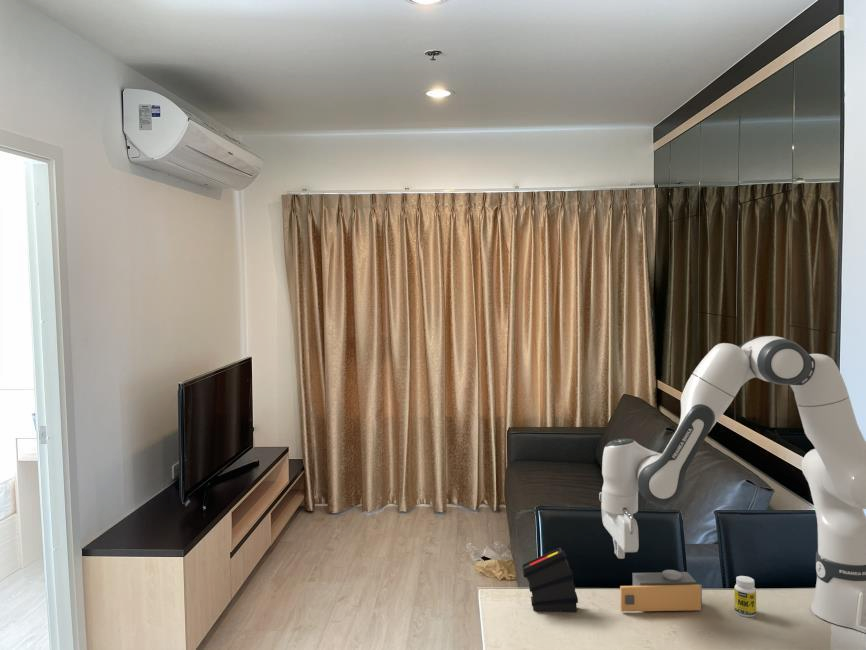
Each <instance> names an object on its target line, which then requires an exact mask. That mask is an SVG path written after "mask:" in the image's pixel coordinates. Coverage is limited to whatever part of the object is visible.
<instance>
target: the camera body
mask: <svg viewBox="0 0 866 650" xmlns="http://www.w3.org/2000/svg"><path fill="white" fill-rule="evenodd" d="M649 585H698V583H697V581H696V580H695V579H694V578H693V577H692V575H691V574H690V573H688V571H678V570H675V569H665V570H662V571H661V572H632V586H649Z"/></svg>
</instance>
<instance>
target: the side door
mask: <svg viewBox="0 0 866 650" xmlns="http://www.w3.org/2000/svg"><path fill="white" fill-rule="evenodd" d="M619 588H620V589H619V590H620V591H619V593H620V594H619V596H620V602H619V603H620V604H619V605H620V612H626V613H627V612H664V611H665V612H667V611H668V612H669V611H673V612H675V611H676V612H677V611H702V610H703V590H702V589H703V586H702V584H697V585H649V586H633V585H620V586H619Z"/></svg>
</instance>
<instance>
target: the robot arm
mask: <svg viewBox="0 0 866 650" xmlns="http://www.w3.org/2000/svg"><path fill="white" fill-rule="evenodd" d="M753 378H754V379H755V378H757V379H759V380H762V381H764V382H767V383H768V382H769V383H772V384H775V385H781V386H782V385H783V386H790V388H791V389H792V392H793V395H794V400H795V403H796V406H797V409H798V413H799V417H800V420H801V424H802V428H803V430H804V431H803V432H804V435H805V436H806V438H807V439H808V440H809V441H810V442H811V444H812V445H813V447H814V448H813V449H810V450H809V451H808V452H807V453H806V454H805V455H804V457H803V458H802V460H801V471H802V474H803V476H804V478H805V480H806V481H807V483H808V487H809V490H810V496H811V499H812V502H813V503H812V504H813V506H814V511H815V516H816V523H817V551H816V552H815V571H816V572H815V573H816V584H815V589H814V593H813V598H812V602H811V604H810V610H811V612H812V613H813V614H814V615H816V617H818V618H820V619H822V620H824V621H826V622H828V623H832V624H835V625H837V626H841V627H845V628H850V629H854V630H857V631H858V632H861V633H865V634H866V513H865V511H864V510H866V439H865V437H864V435H863V433H862V431H861V429H860V427H859V425H858V423H857V419H856V416H855V412H854V411H855V410H854V409H853V405H852V402H851V397H850V396H849V391H848V388H847V386H846V383H845V380H844V378H843V376H842V374H841V371H840V370H839V367H838V365H837V364H836V362H835V360H834V359H833V358H832V357H830V356H829V355H827V354H823V353H808V352H807V351H806V350H805V349H804V348H803V347H802V346H801V345H800V344H798V342H795V341H793V340H790V339H786V338H784V337H781V336H777V335H758V336H754V337H752V338H750V339H748V340H746V341H745V342H742V343H740V344H739V345H736V344H733V343H727V342H722V343H717V344H716V345H715V346H713V348H711V350H709V351H708V353H706V355H705V356H704V357H703V358H702V359H701V361H700V362H699V363H698V365H697V366H696V367H695V369H694V370H693V371H692V374H690V377H689V378H688V380H687V381H686V383H685V386H684V389H683V390H682V394H681V396H680V419H679V423H678V425H677V428H676V430H675V433H673V436H672V437H671V439H670V440H669V443H668V444H667V445H666V448H665V449H664V450H663V452H657V451H655V450H652V449H648V448H646V447H645V446H642V445H641V444H639V443H638V442H637V441H636V440H635V439H632V438H617V439H613V440H611V441H609V442H607V444H605V446H604V447H603V452H602V459H601V460H602V462H601V464H602V465H601V475H602V478H603V484H602V488H601V492H599V493H598V494H599V495H598V496H599V497H598V498H599V501H600V502H601V505H600V509H601V519H602V520H601V521H602V524H603V527H604V528H605V529H606V531H607V532H608V533H609V534H610V536H611V537H612V542H613V547H614V554H615V555H616V557H617V558H618V559H619V560H620V559H622V560H623V559H625V558H626V557H625V555H626V553H637V552H638V550H639V545H640V544H639V542H640V541H639V538H640V537H639V526H638V522H637V520H636V519H635V518H634V517H633V516H634V514H636V513H638V512H639V493H640V495H641V496H642V498H643V499H644V500H646V502H647V503H650V504H652V505H655V506H658V507H662V506H663V507H665V506H670V505H672V504H674V503H675V502H677V501H678V500H679V499H680V497H682V496H681V495H682V494H683V491H684V485H685V478H686V474H687V471H688V469H689V467H690V465H691V464H692V462H693V460H694V459H695V457H696V455H697V453H698V451H699V450H700V449H701V447H702V445H703V443H704V442H705V440H706V437H707V436H708V435H709V433H710V432H711V430H712V429H713V427H714V426H715V425H716V424H717V422H718V421H719V419H720V418H721V417H722V416H723V415H724V413H725V412H726V410H727V409H728V408H729V406H730V405H731V404H732V402H733V400H734V399H735V397H736V396H737V394H738V393H739V391H740V390H741V387H743V386H744V384H745V383H746V382H748V381H749V380H752V379H753Z"/></svg>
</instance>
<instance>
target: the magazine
mask: <svg viewBox="0 0 866 650" xmlns="http://www.w3.org/2000/svg"><path fill="white" fill-rule="evenodd" d="M521 569H522V575H523V578H524V579H525V578H526V579H527V581H528V582H527V583H528V586H529V587H528V588H529V592H530V593H531V596H530V602H531V606H532V609H533V611H534V612H558V613H559V612H560V613H561V612H564V613H566V612H567V613H577V611H578V609H577V607H578V605H577V604H578V603H579V599H578V595H577V592H576V586H575V583H574V579H575V577H574V574H573V570H572V569H571V568H570V564H569V562H568V560H567V557H566V552H565V550H562V548H561V547H558V548H556V549H554V550H552V551H549V552H547V553H544V554H543V555H541V556H538V557H536V558H534V559H532V560H530V561H527V562H526V563H523V564H522V565H521Z"/></svg>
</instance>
